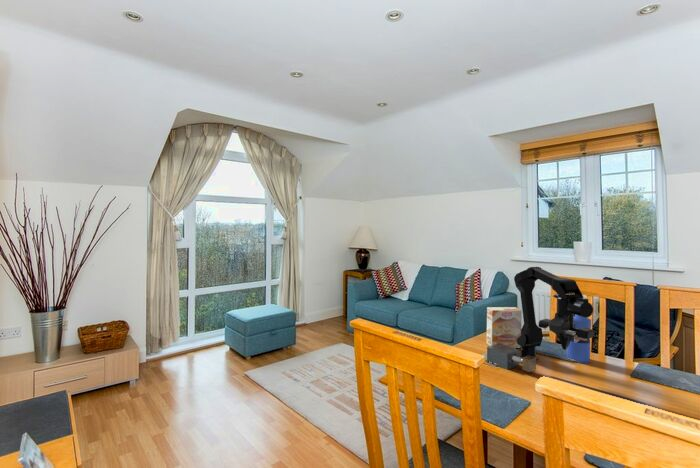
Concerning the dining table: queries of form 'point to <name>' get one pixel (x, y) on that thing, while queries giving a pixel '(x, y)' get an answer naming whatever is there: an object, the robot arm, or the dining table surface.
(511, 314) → the coffeecake box
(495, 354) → the housing
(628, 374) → the dining table surface
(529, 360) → the shaft
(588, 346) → the water bottle
